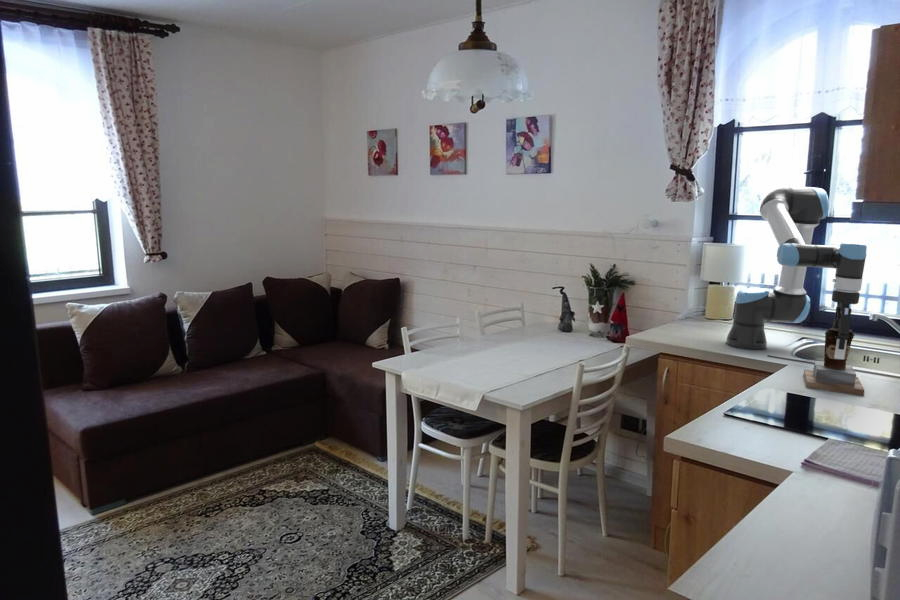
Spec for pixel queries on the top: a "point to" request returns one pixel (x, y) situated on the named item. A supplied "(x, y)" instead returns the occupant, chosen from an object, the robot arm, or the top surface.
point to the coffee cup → (830, 349)
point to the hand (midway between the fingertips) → (836, 353)
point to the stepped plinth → (833, 386)
